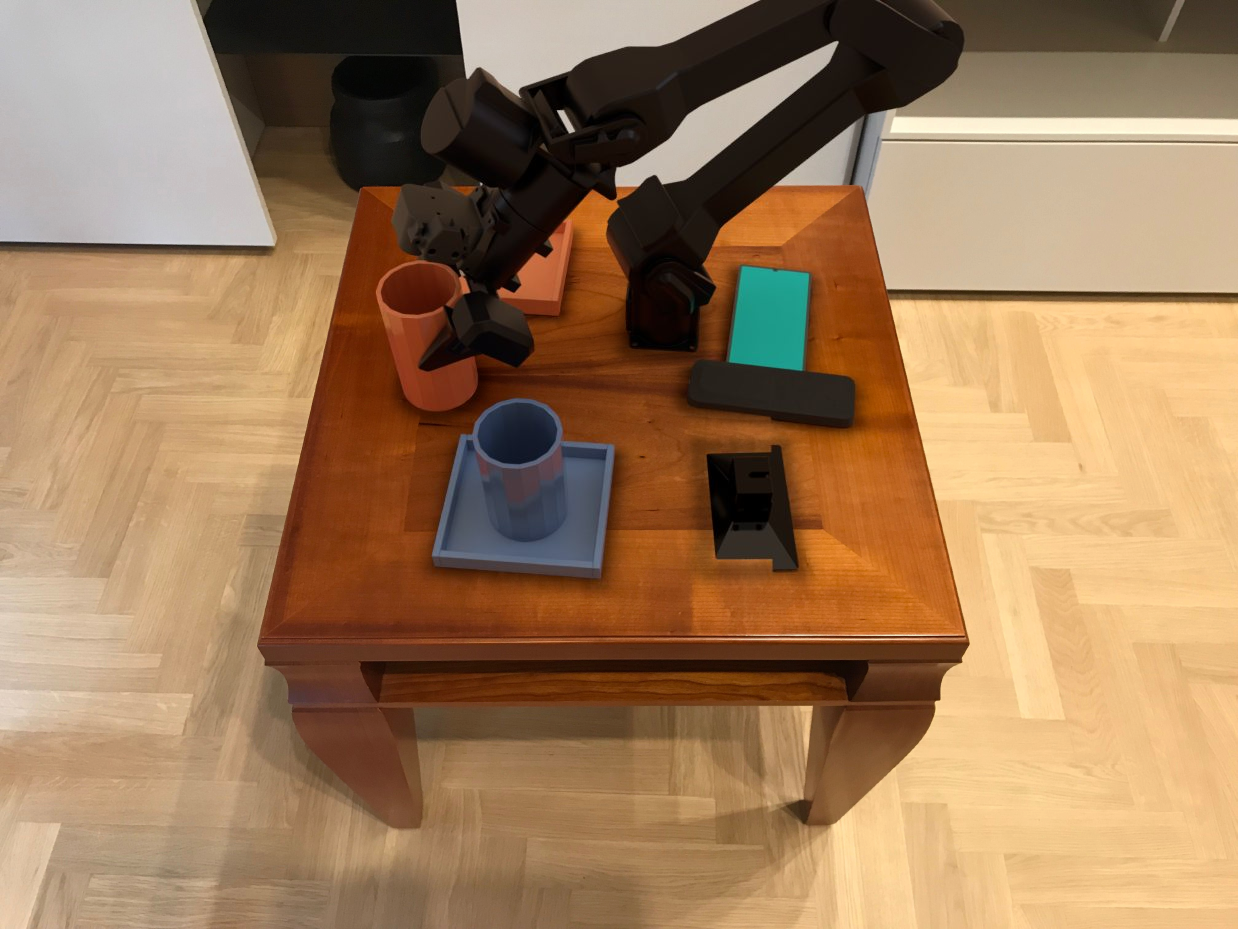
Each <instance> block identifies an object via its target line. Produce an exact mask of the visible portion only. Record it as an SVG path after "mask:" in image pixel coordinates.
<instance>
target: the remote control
mask: <svg viewBox="0 0 1238 929" xmlns="http://www.w3.org/2000/svg"><path fill="white" fill-rule="evenodd" d="M686 403H687V404H688V405H689V406H690V407H693V408H697V409H704V410H712V411H721V412H728V413H738V414H744V415H745V414H747V415H753V416H754V415H755V416H763V417H769V418H770V420H777V421H786V422H793V423H801V424H808V425H809V424H810V425H817V426H818V425H819V426H826V427H833V428H843V429H844V428H850V427H851V426H852V425H853V424H854V420H855V407H856V406H855V405H856V383H855V380H854V379H853V378H851V376H847V375H843V374H842V375H841V374H833V373H827V372H826V373H824V372H816V371H807V370H805V371H800V370H791V369H783V368H774V367H766V366H757V365H749V364H740V363H732V362H726V361H722V360H715V359H714V360H713V359H705V358H703V359H697V360H696V361H695V362H694V363H693V365H692V367H691V370H690V373H689V379H688V385H687V393H686Z"/></svg>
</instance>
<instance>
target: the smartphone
mask: <svg viewBox="0 0 1238 929" xmlns="http://www.w3.org/2000/svg"><path fill="white" fill-rule="evenodd" d="M812 279H813V274H812V272H810V271H806V270H797V269H789V268H780V267H769V266H762V265H761V266H760V265H753V264H739V266H738V271H737V278H736V285H735V292H734V293H735V294H734V301H733V308H732V315H731V322H730V330H729V337H728V343H727V352H726V359H725V362H732V363H740V364H749V365H757V366H766V367H774V368H783V369H791V370H800V371H806V367H807V354H808V353H807V352H808V338H809V327H810V320H811V318H810V314H811V305H812V290H813V289H812Z"/></svg>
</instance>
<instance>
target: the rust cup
mask: <svg viewBox="0 0 1238 929" xmlns="http://www.w3.org/2000/svg"><path fill="white" fill-rule="evenodd" d="M375 295H376V299H377V303H378V307H379V310H380V314H381V318H382V321H383V324H384V329H385V331H386V335H387V336H386V337H387V339H388V343H389V346H390V349H391V353H392V356H393V357H392V358H393V359H394V363H395V367H396V370H397V374H398V378H399V381H400V385H401V388H402V392H403V395H404V397H405V398H406V400H407V401H408V402H409V403H410V404H411V405H413V406H414V407H416V408H418V409H420V410H423V411H428V412H445V411H449V410H453V409H455V408H458V407H460V406H462V405H463V404H465V403H466V402H467V401H469V400H470V399H471V398H472V397H473V395H474V394H475V392H476V390H477V387H478V383H479V374H478V369H477V364H476V358H475V357H476V356H473V357H470V358H467V359H464V360H461V361H458V362H455V363H452V364H450V365H447V366H444V367H441V368H438V369H435V370H433V371H430V372H426V371H423V370H420V369H419V368H418V363H419V361H420V359H421V358H422V356H423V354H424V353H425V351H426V350H427V349H428V347H429V346H430V345H431V343H432V342H433V341H434V339H435V338H436V336H437V335H438V334H439V332H440V331H441V330H442V328H443V327H444V326H445V324H446V320H445V314H444V309H443V305H444V304H445V305H447V306H449V307H451V308H454V306H455V303H456V302H457V301H458V300H459V299H460V298H461V296H462V295H463V292H462V286H461V283H460V280H459V276H458V274H457V273H456V272H455V271H453V270H452V269H451V268H450V267H449V266H447V265H444V264H440V263H433V262H427V261H425V260H418V261H417V260H413V261H409V262H404V263H402V264H399V265H398V266H396V267H393V268H391V269H390V270H388V271H387V272H386V274H384V275H383V276H382V278H381V279H379V281H378V284H377V286H376V290H375Z"/></svg>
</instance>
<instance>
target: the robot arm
mask: <svg viewBox="0 0 1238 929" xmlns="http://www.w3.org/2000/svg"><path fill="white" fill-rule="evenodd" d="M965 41H966V40H965V33H964V30H963V28H962V27H961V26H960V24H959V23H958V21H955V19H954V18H953V17H951V16H950V14H948V13H947V12H946V11H945V10H944V9H943V8H942V7H941V6H940V5H939V4H937V3H936V2H935V1H934V0H757V1H755V2H753V3H751V4H749V5H747V6H745V7H743V8H741V9H737V11H734V12H732V13H730V14H728V15H726V16H724V17H722V18H720V19H717V20H715V21H713V22H712V23H710V24H707V25H705V26H703V27H701V28H699V29H696V30H695V31H692V32H691V33H689V34H687V35H685V36H683V37H680V38H679V39H677V40H674V41H670V42H668V43H665V44H662V45H655V46H654V45H653V46H652V45H648V46H647V45H628V46H624V47H623V46H622V47H620V48H616V49H614V50H610V51H607V52H603V53H600V54H597V55H594V56H591V57H589V58H585V59H583V60H582V61H580V62H579V63H578V64H576V65H575V66H573V68H572V69H571V70H569V71H565V72H563V73H560V74H557V75H553V76H549V77H548V78H544V79H542V80H538V81H535V82H533V83H530V84H527V85H524V86H521V87H520V88H519V89H518V91H517V92H518V95H517V94H516V93H515V92H513V91H511V90H510V89H508V88H507V87H505V86H504V85H502V84H501V83H500V82H499V81H498V80H497V79H496V78H495V76H494V75H492V73H491V72H488V71H487V70H485V69H484V68H483V67H481V66H479V67H478V66H477V67H476V68H475V69H474V70H473V72H472V73H471V74H470V76H468V78H467V77H459V78H456V79H454V80H452V81H451V82H449V83H448V84H447V85H446V86H445V87H443V86H442V87H440V88H439V89H438V91H436V93H435V95H434V96H433V98H432V99H431V101H430V103H429V104H428V107H427V109H426V110H425V114H424V116H423V119H422V125H421V128H420V142H421V146H422V149H423V150H424V151H425V152H426V153H428V154H429V155H431V156H433V157H434V158H436V159H438V160H440V161H441V162H444V163H445V164H447V165H448V166H450V167H453V168H454V169H456V170H458V171H459V172H461V173H463V174H464V175H466V176H468V177H469V178H471V179H473V180H474V181H477V182H478V183H480V184H481V185H480V184H478V185H476V186H475V187H474V189H472V191H471V192H470V193H469V194H467V195H466V194H465V193H463V192H461V191H459V190H458V189H456V188H455V187H452V186H450V185H448V184H447V183H445V182H443V181H442V180H436V181H432V182H431V181H429V182H425V183H424V184H423V185H419V184H414V183H405V184H403V185H401V188H400V190H399V192H398V196H397V200H396V204H395V207H394V210H393V214H392V217H391V220H390V221H391V225H392V227H393V228H394V231H395V234H396V238H397V246H398V247H399V249H400V250H401V251H402V252H403V253H405V254H407V255H408V256H414V257H417V258H416V261H418V260H425V261H427V262H433V263H440V264H444V265H447V266H449V267H450V268H451V269H452V270H453V271H455V272H456V273H457V274H458V276H459V278H460V277H461V276H462V277H463V278H465V279H466V282H467V285H468V288H469V291H470V293H466V294H463V295H462V296H461V298H460V299H459V300H458V301H457V302H456V303H455V306H454V308H451V307H449V306H447V305H445V304H444V305H443V309H444V314H445V320H446V324H445V326H444V327H443V328H442V330H441V331H440V332H439V334H438V335H437V336H436V338H435V339H434V341H433V342H432V343H431V345H430V346H429V347H428V349H427V350H426V351H425V353H424V354H423V356H422V358H421V359H420V361H419V363H418V368H419V369H420V370H423V371H426V372H430V371H433V370H435V369H438V368H441V367H444V366H447V365H450V364H452V363H455V362H458V361H461V360H464V359H467V358H470V357H473V356H474V357H476V356H481V355H484V356H486V357H489V358H491V359H494V360H496V361H498V362H501V363H504V364H506V365H509V366H511V367H512V368H515V369H519V367H520V366H522V365H523V364H524V363H525V362H526V360H528V358H529V357H530V356H531V355H532V354H533V353H534V352H535V351H536V348H535V340H534V337H533V333H532V331H531V329H530V327H529V324H528V321H527V318H526V315H525V314H524V313H523V311H522V310H520V309H518V308H516V307H514V306H512V305H510V304H508V303H506V302H504V301H501V299H500V296H499V294H498V291H497V290H500V289H501V288H504V289H506V290H508V291H510V292H512V293H515V292H516V291H517V290H518V288H519V287H520V286H521V285H522V284H521V282H520V280H519V277H518V275H517V273H518V272H519V271H520V270H521V269H522V268H523V267H524V265H525V264H526V263H527V262H528V261H529V260H530V259H531V258H532V256H533V255H534V254H535V253H537V254H539V255H541V256H542V257H544V258H547V256H548V255H549V254H550V253H551V252H552V251H553V250H554V249H553V247H552V245H551V242H550V240H549V237H550V236H551V235H552V234H553V233H554V232H555V231H556V229H557V228H558V227H559V226H560V225H561V224H562V223H563V222H564V221H565V219H568V217H569V216H570V215H571V214H572V213H573V212H574V210H576V208H577V207H578V206H579V205H580V204H581V203H582V202H583V201H584V199H585V198H586V197H587V196H588V195H589V194H590V193H591V192H592V191H594V192H596V193H597V194H599V195H601V196H602V197H604V198H605V199H606V200H608V201H615V200H616V199H617V197H618V192H617V185H616V173H617V170H618V168H623V167H626V166H629V165H632V164H634V163H635V162H637V161H639V160H641V159H642V158H643V157H644V156H647V154H649V153H650V152H652V151H654V150H655V149H657V148H658V147H660V146H661V145H663V144H665V143H666V142H668V141H669V140H670V139H671V138H672V137H673V135H674V134H675V133H676V131H677V130H678V128H679V127H680V126H681V124H682V123H683V122H684V120H685V119H686V117H687V116H688V115H689V114H691V113H693V112H694V111H696V110H697V109H699V108H700V107H702V106H704V105H706V104H708V103H710V102H712V101H715V100H716V99H719V98H720V97H722V96H725V95H727V94H729V93H731V92H733V91H735V90H737V89H740V88H741V87H743V86H746V85H747V84H750V83H751V82H754V81H756V80H758V79H761V78H762V77H765V76H766V75H768V74H771V73H773V72H775V71H777V70H779V69H781V68H784V67H785V66H787V65H789V64H791V63H793V62H795V61H798V60H799V59H802V58H804V57H806V56H808V55H810V54H812V53H814V52H816V51H819V50H820V49H823V48H825V47H826V46H829V45H831V44H833V43H835V42H837V44H836V47H835V48H834V51H833V53H832V55H831V57H830V59H829V61H828V62H827V64H826V65H824V67H823V68H821V69H820V70H819V71H818V72H816V74H814V75H813V76H812V77H810V79H808V80H807V81H805V82H804V83H803V84H802V85H801V86H800V87H798V88H797V89H796V90H794V91H793V92H792V93H791V94H790V95H789V96H787V97H786V98H784V99H783V100H782V101H781V102H780V103H779V104H778V105H776V106H775V107H774V108H773V109H771V110H770V111H769V112H767V114H765V115H763V117H761V118H760V119H759V120H758V121H757V122H755V123H754V124H752V125H751V126H750V127H748V128H747V130H745V131H744V132H742V134H740V135H739V136H738V137H736V139H734V140H733V141H732V142H730V143H729V144H728V145H727V146H726V147H724V148H723V149H722V150H721V151H719V152H718V153H717V154H715V155H714V156H713V157H712V158H711V159H710V160H708V161H707V162H706V163H704V164H703V166H701V167H700V168H699V169H697V170H696V171H695V172H693V174H691V175H690V176H689V177H687V178H685V179H683V180H677V181H672V182H667V183H662V181H661V180H660V178H659V177H658V175H657V174H652V175H650V176H648V177H646V178H645V179H644V180H643V181H642V183H640V184H639V185H638V187H636V189H635V190H634V191H632V192H631V193H629V194H628V195H626V196H624V197H621V198H619V199H617V200H616V204H617V206H618V207H617V208H616V209H615V210H614V211H613V212H612V213H611V214H610V216H609V217H608V219H607V221H606V223H607V225H606V230H605V237H606V242H607V244H608V246H609V248H610V251H612V253H613V256H614V257H615V259H616V261H617V264H618V265H619V267H620V269H621V271H622V273H623V275H624V277H625V279H626V280H627V285H626V291H625V292H626V294H625V303H624V304H625V305H624V306H625V317H624V318H625V319H624V320H625V322H624V323H625V325H624V326H625V331H626V332H628V333H629V339H628V346H629V348H631V349H633V350H647V351H648V350H650V351H662V352H663V351H664V352H681V353H696V352H698V350H699V338H700V320H701V319H700V318H701V307H704V306H708V305H709V303H710V302H711V300H712V297H713V296H714V293H715V292H716V289H717V285H716V284H715V282H714V280H713V279H712V277H711V275H710V273H709V272H708V271H707V269H706V267H705V266H704V264H705V262H706V261H707V259H708V257H709V254H710V252H711V250H712V249H713V248H712V247H713V246H714V243H715V242H716V239H717V237H718V235H719V233H720V231H721V229H722V228H723V227H724V226H725V225H726V224H727V223H728V222H729V221H731V220H732V219H733V218H735V217H736V216H738V215H739V214H740V213H741V212H743V211H744V210H745V209H746V208H747V207H749V206H750V205H751V204H753V203H754V202H755V201H756V200H758V199H759V198H760V197H762V196H763V195H764V194H766V193H767V192H768V191H769V190H770V189H772V188H773V187H774V186H776V185H777V184H778V183H779V182H780V181H782V180H783V179H785V178H786V177H787V176H788V175H790V174H791V173H792V172H794V171H795V170H796V169H798V167H800V166H801V165H802V164H804V163H805V162H806V161H807V160H809V159H810V158H811V157H813V156H814V155H815V154H816V153H817V152H819V151H820V150H821V149H823V148H824V147H825V146H826V145H828V144H830V142H832V141H833V140H834V139H836V138H838V136H839V135H841V134H842V133H844V132H845V131H846V130H847V129H848V128H850V127H851V126H852V125H854V124H855V123H856V122H857V121H858V120H860V119H861V118H863V117H864V116H867V115H871V114H876V113H882V112H886V111H891V110H897V109H901V108H905V107H907V106H909V105H910V104H912V103H914V102H915V101H917V100H918V99H921V98H922V97H923V96H925V95H927V94H928V93H929V92H931V91H933V90H935V89H936V88H938V87H940V86H941V85H942V84H944V83H945V82H946V81H947V80H948V79H949V78H951V76H952V75H953V74H954V73H955V72H956V70H957V69H958V67H959V60H960V57H961V55H962V53H963V51H964V46H965ZM558 111H563V112H564V115H565V116H566V119H567V120H568V121H569V123H570V125H571V127H572V129H573V130H574V131H572V132H569V130H568V128H567V126H566V125H565V123H564V121H563V118H562V117H561V116H560V114H559V112H558ZM633 344H635V345H633ZM692 347H693V348H692Z"/></svg>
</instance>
